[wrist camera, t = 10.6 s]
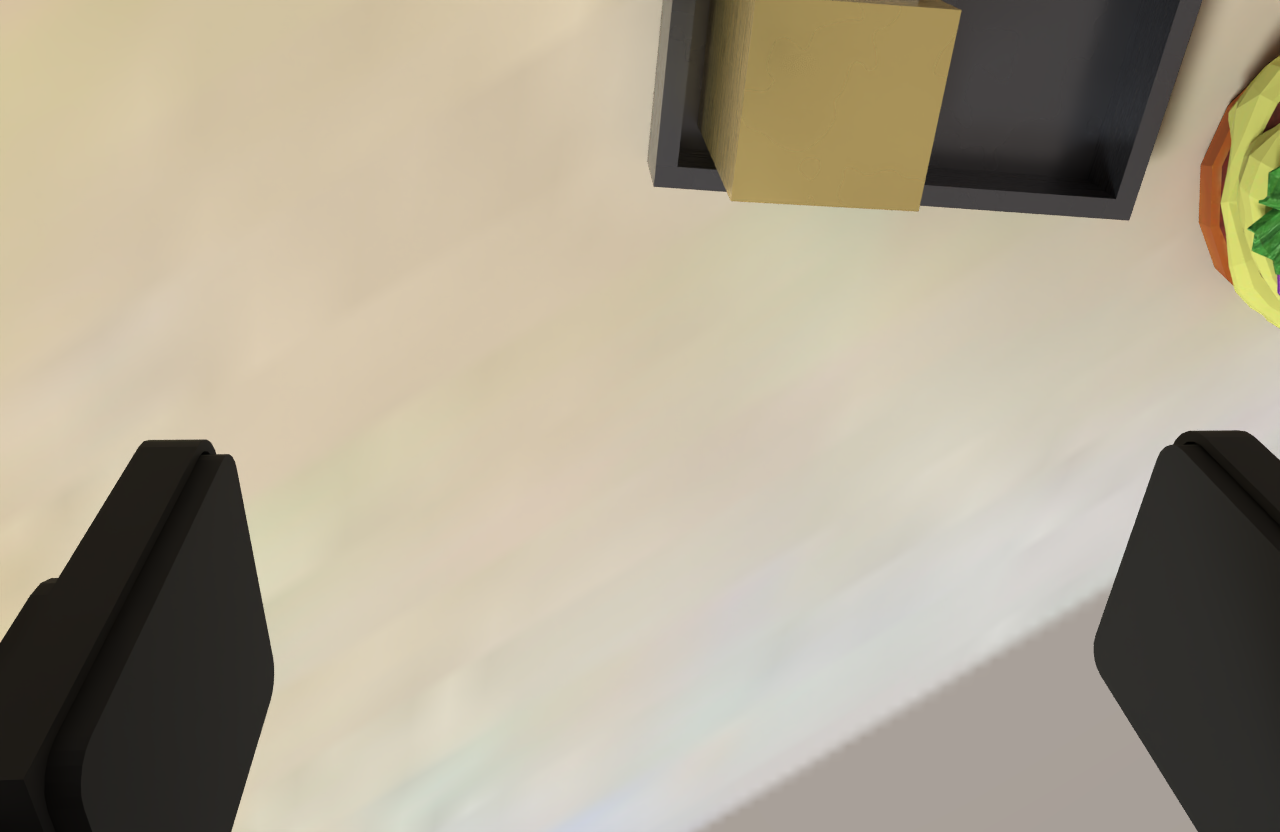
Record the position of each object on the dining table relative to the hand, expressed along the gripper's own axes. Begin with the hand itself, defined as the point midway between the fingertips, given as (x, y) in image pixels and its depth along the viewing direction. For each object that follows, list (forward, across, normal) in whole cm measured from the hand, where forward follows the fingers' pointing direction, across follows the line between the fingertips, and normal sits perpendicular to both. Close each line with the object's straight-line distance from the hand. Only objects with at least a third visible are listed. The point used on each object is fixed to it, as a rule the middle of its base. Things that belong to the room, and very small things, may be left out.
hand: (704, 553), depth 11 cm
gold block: (+22, -5, 0) cm, 22 cm away
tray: (+22, -9, 0) cm, 24 cm away
